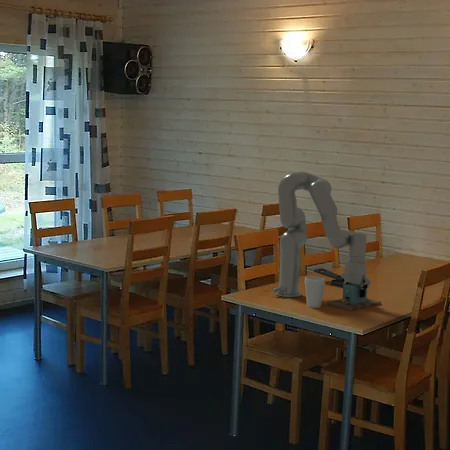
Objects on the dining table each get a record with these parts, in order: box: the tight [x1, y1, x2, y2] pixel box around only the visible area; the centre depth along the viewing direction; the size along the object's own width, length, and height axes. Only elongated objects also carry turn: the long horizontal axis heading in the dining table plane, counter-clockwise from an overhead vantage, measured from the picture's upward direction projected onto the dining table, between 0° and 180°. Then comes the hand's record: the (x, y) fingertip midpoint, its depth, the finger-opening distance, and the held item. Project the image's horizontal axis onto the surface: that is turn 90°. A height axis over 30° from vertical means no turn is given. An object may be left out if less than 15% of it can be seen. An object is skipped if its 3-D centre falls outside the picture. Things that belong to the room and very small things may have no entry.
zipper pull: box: [313, 267, 352, 289], centre depth 375 cm, size 9×7×25 cm
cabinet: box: [341, 284, 368, 304], centre depth 335 cm, size 11×6×8 cm, turn 128°
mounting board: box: [326, 297, 382, 312], centre depth 335 cm, size 22×14×3 cm, turn 129°
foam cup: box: [304, 275, 326, 309], centre depth 329 cm, size 10×9×13 cm
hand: (354, 295), depth 335 cm, fingers open, 9 cm apart
